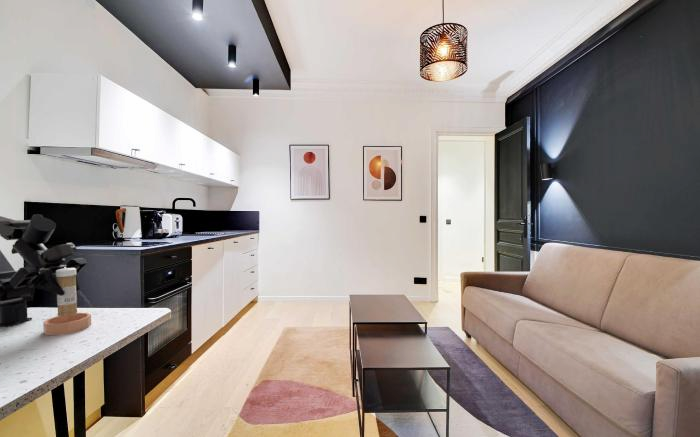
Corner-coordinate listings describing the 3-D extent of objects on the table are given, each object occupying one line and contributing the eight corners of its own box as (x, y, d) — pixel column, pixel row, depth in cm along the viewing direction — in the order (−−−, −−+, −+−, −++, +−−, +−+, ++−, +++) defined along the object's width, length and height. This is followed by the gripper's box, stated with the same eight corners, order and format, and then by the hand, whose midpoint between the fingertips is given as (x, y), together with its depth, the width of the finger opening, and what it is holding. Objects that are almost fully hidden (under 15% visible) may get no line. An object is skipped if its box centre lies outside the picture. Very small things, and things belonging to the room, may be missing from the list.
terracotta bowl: (34, 334, 92) (33, 323, 92) (68, 321, 102) (68, 312, 102) (67, 335, 91) (67, 324, 91) (99, 322, 101) (98, 313, 101)
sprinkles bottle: (77, 310, 100) (76, 266, 99) (77, 314, 96) (76, 269, 96) (57, 314, 97) (56, 268, 96) (56, 318, 93) (55, 271, 93)
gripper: (17, 237, 87) (56, 280, 86) (82, 232, 105) (114, 267, 105) (-8, 266, 88) (30, 309, 87) (60, 256, 106) (92, 291, 106)
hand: (71, 292), depth 96 cm, fingers closed on sprinkles bottle, 4 cm apart
